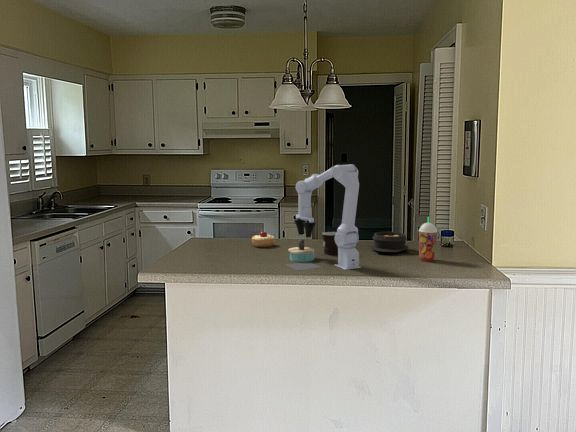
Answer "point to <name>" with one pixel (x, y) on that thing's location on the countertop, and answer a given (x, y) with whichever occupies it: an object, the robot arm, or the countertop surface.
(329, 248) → the coffee mug
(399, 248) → the casserole
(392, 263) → the countertop surface
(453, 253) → the countertop surface
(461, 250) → the countertop surface
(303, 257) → the bowl
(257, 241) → the pastry
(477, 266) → the countertop surface
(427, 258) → the smoothie
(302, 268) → the mat
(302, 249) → the lid
